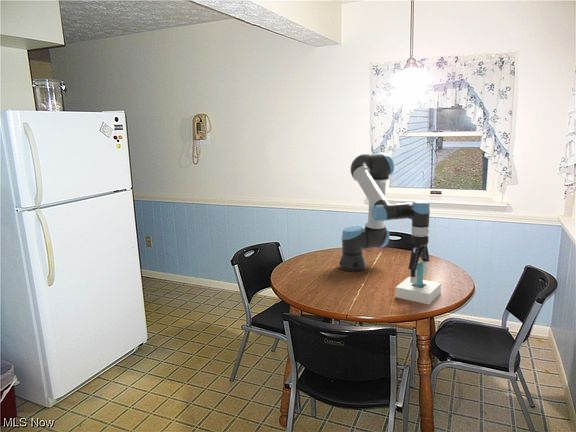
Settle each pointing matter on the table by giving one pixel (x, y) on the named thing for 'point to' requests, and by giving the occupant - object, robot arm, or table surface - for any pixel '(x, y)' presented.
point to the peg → (419, 275)
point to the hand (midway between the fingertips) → (418, 278)
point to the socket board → (418, 291)
